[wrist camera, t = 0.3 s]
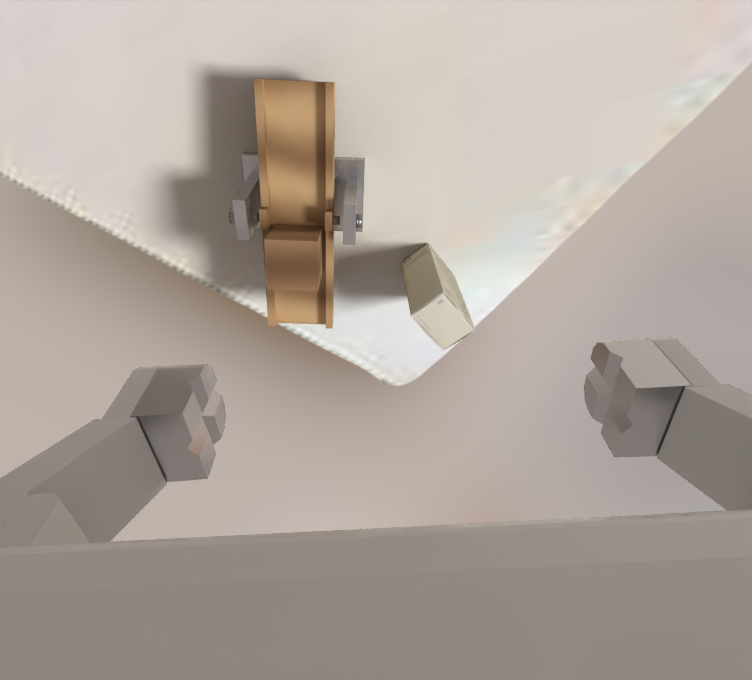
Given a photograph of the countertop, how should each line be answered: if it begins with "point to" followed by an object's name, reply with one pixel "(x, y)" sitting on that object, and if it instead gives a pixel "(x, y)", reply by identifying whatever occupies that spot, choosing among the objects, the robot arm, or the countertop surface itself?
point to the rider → (294, 257)
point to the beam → (297, 183)
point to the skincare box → (435, 298)
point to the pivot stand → (345, 197)
